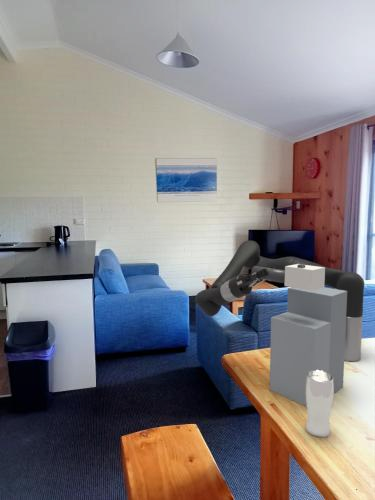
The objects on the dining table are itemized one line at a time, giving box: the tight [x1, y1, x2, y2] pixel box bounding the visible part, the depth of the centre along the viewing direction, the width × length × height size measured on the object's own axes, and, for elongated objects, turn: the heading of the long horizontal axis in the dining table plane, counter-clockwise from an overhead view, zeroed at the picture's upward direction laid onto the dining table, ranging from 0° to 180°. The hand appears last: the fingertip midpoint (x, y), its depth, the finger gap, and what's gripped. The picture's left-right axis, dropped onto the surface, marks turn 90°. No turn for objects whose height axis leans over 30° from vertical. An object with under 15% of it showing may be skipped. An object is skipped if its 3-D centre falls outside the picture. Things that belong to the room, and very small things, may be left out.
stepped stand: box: [269, 286, 347, 407], centre depth 112 cm, size 19×15×32 cm
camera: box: [250, 264, 326, 291], centre depth 111 cm, size 7×23×7 cm, turn 41°
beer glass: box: [305, 370, 335, 438], centre depth 92 cm, size 7×7×15 cm
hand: (270, 270), depth 114 cm, fingers closed on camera, 4 cm apart
